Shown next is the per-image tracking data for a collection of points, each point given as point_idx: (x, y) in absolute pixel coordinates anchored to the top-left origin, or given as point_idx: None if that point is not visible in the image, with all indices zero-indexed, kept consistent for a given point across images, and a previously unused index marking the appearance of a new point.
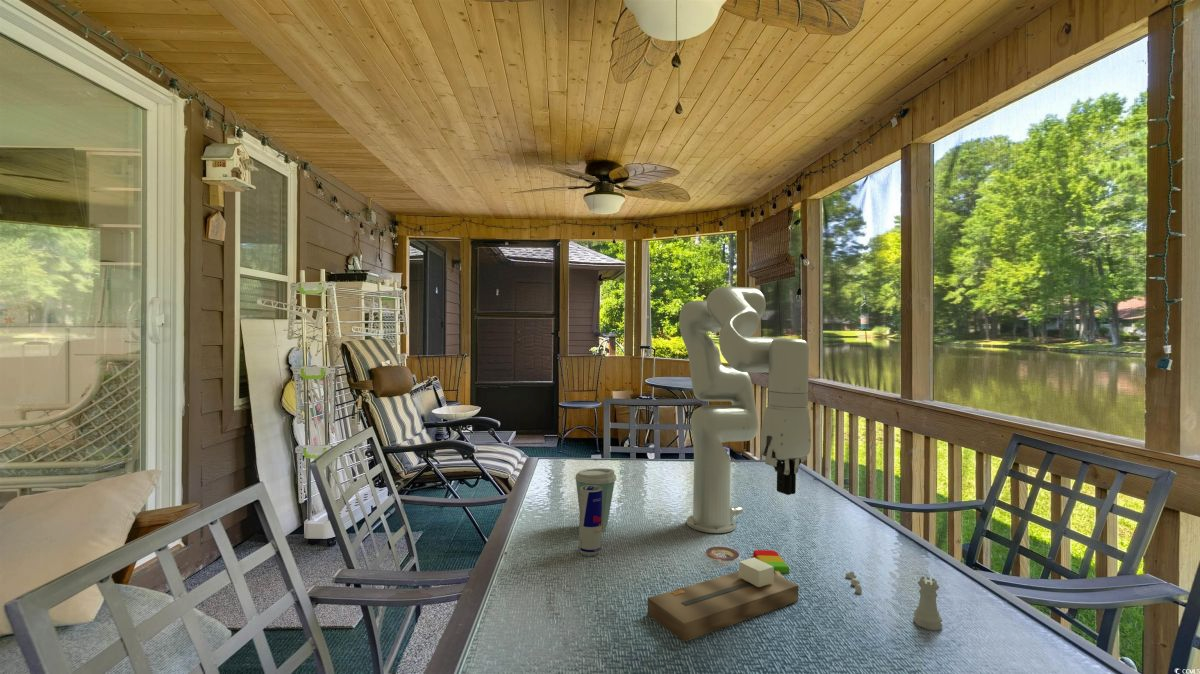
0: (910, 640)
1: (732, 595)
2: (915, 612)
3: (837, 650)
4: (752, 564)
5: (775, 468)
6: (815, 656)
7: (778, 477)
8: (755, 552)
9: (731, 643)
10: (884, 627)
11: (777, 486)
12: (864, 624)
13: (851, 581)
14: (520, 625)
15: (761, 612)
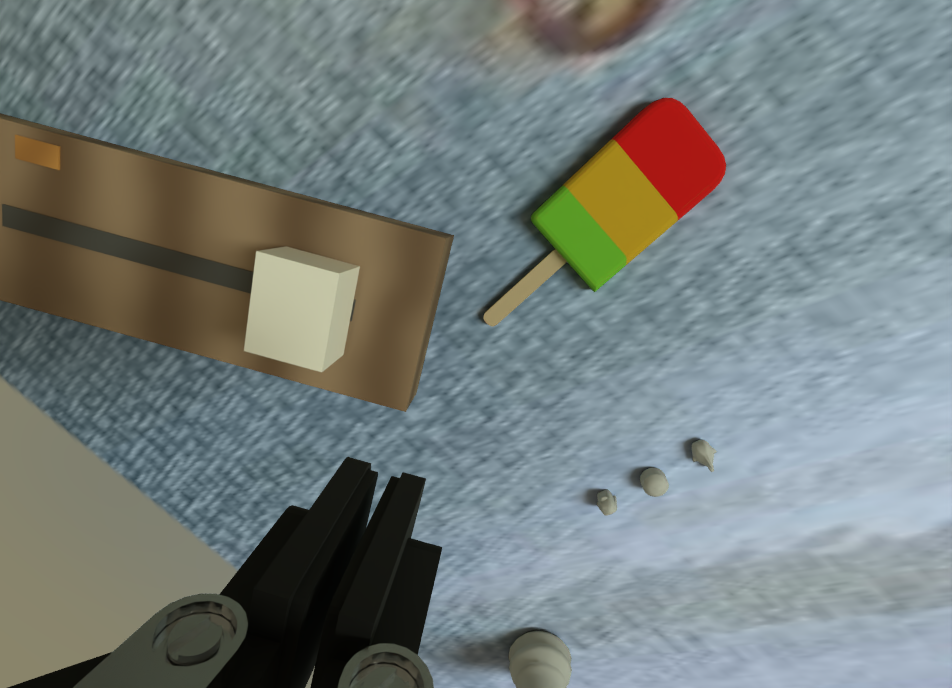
0: (433, 636)
1: (175, 293)
2: (527, 654)
3: None
4: (275, 303)
5: (73, 678)
6: (207, 515)
7: (233, 584)
8: (645, 116)
9: (90, 362)
10: (449, 587)
11: (333, 482)
12: None
13: (647, 475)
14: None
15: None
